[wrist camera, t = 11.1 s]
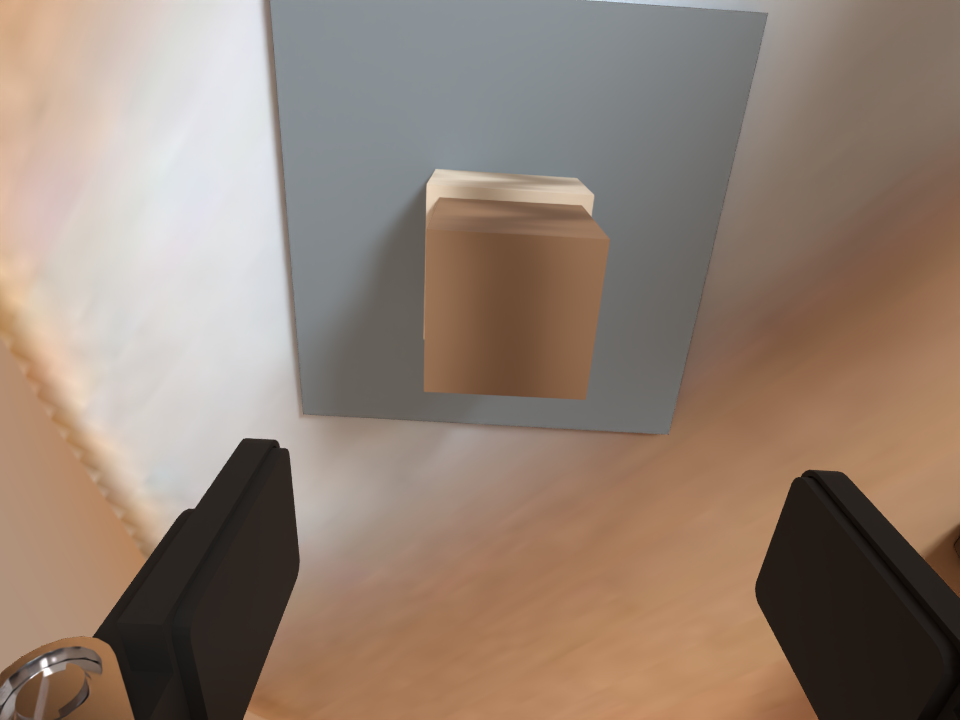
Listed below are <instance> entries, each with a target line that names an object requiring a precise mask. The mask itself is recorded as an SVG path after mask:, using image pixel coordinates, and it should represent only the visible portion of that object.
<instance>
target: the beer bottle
mask: <svg viewBox="0 0 960 720" xmlns="http://www.w3.org/2000/svg"><path fill="white" fill-rule="evenodd" d="M954 546H955V549H956V552H957V554H958V556H959V558H960V537H959V539H958V540H957V542H956V544H955V545H954Z"/></svg>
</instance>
